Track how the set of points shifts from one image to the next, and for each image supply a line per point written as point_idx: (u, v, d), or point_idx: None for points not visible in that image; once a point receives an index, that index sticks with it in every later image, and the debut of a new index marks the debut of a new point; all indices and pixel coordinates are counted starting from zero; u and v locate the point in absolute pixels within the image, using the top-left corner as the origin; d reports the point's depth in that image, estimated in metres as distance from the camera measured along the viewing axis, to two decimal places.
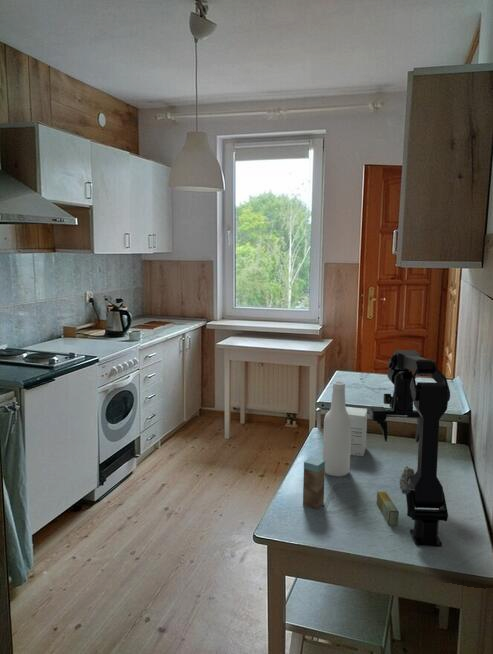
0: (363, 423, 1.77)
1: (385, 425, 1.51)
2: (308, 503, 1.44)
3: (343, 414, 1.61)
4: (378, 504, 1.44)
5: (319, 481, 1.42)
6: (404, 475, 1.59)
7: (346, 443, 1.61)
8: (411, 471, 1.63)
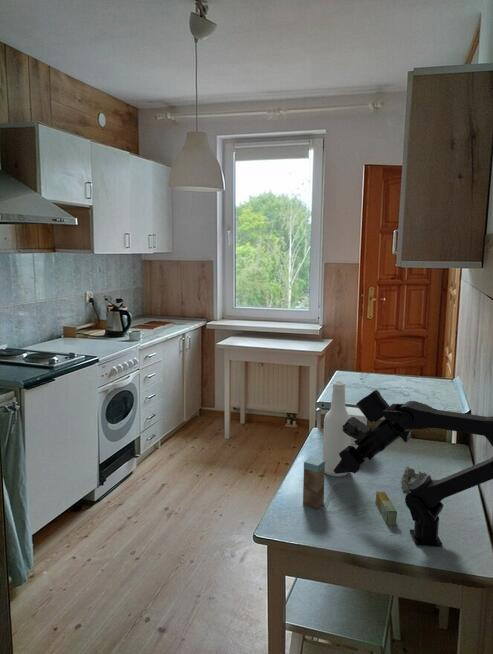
0: None
1: None
2: (308, 503, 1.44)
3: (343, 414, 1.61)
4: (377, 504, 1.44)
5: (319, 481, 1.42)
6: (405, 475, 1.59)
7: (346, 443, 1.61)
8: (412, 471, 1.63)
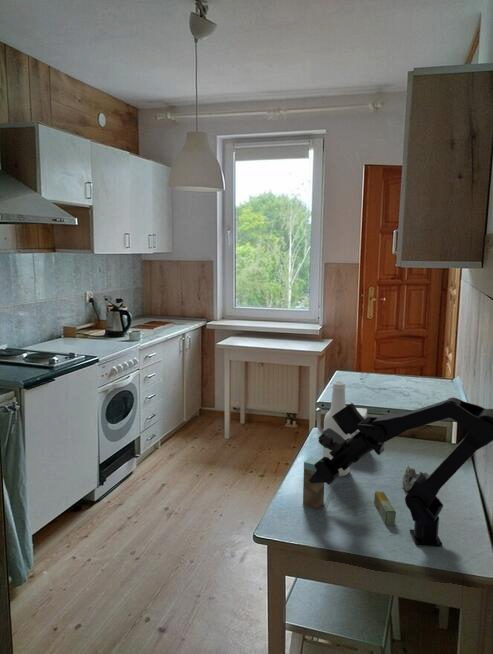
0: None
1: None
2: (308, 503, 1.44)
3: None
4: (375, 504, 1.44)
5: None
6: (406, 475, 1.59)
7: None
8: (412, 471, 1.63)
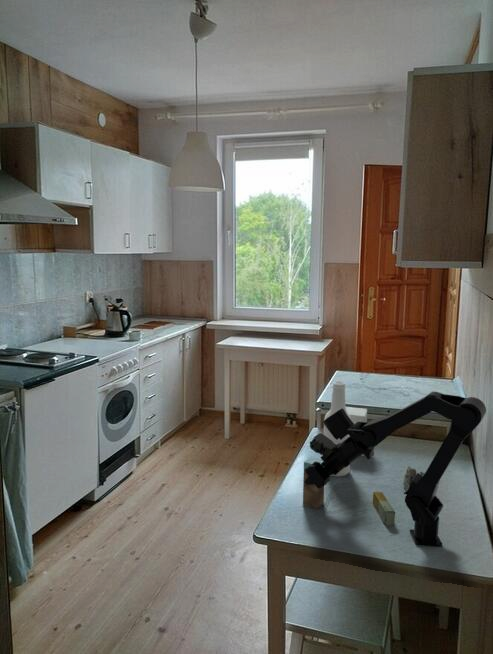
0: None
1: None
2: (308, 503, 1.44)
3: None
4: (374, 504, 1.44)
5: None
6: (407, 476, 1.59)
7: None
8: (413, 471, 1.63)
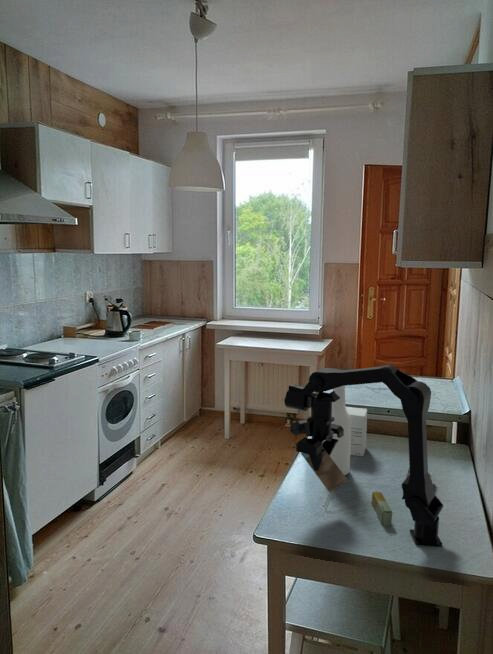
0: (363, 423, 1.77)
1: (323, 453, 1.38)
2: (331, 487, 1.39)
3: (343, 414, 1.61)
4: (373, 504, 1.44)
5: (324, 459, 1.41)
6: None
7: (346, 443, 1.61)
8: None
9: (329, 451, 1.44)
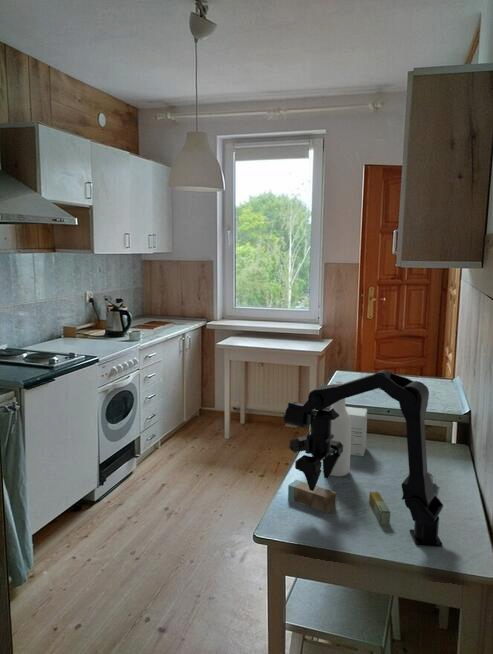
0: (363, 423, 1.77)
1: (319, 474, 1.37)
2: (325, 506, 1.41)
3: (343, 414, 1.61)
4: (370, 504, 1.44)
5: (305, 488, 1.46)
6: None
7: (346, 443, 1.61)
8: None
9: (332, 465, 1.46)
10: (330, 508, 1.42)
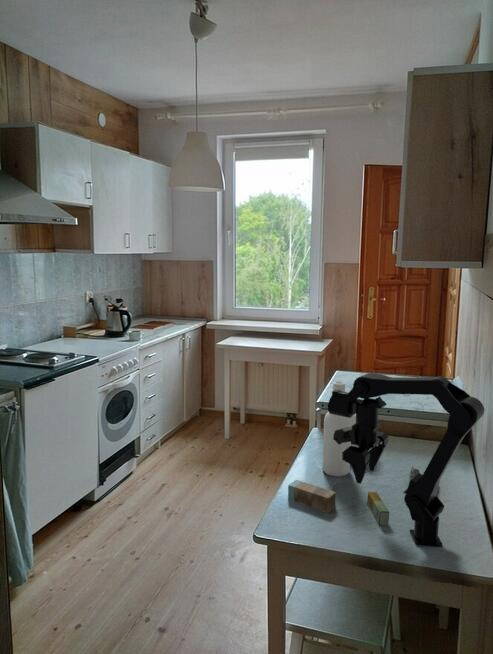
0: None
1: None
2: (325, 506, 1.41)
3: None
4: (369, 504, 1.44)
5: (305, 488, 1.46)
6: (411, 476, 1.59)
7: (346, 443, 1.61)
8: (416, 472, 1.62)
9: (377, 457, 1.39)
10: (330, 508, 1.42)
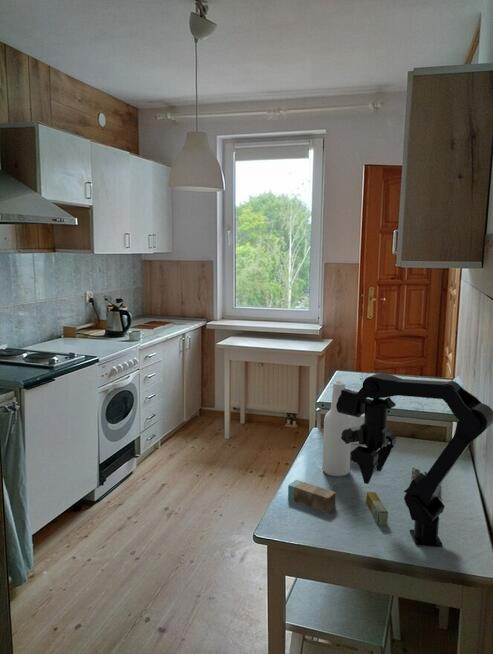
0: (363, 423, 1.77)
1: (376, 465, 1.29)
2: (325, 506, 1.41)
3: (343, 414, 1.61)
4: (367, 504, 1.44)
5: (305, 488, 1.46)
6: (413, 477, 1.58)
7: None
8: (417, 472, 1.62)
9: (385, 457, 1.38)
10: (330, 508, 1.42)
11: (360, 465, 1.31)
